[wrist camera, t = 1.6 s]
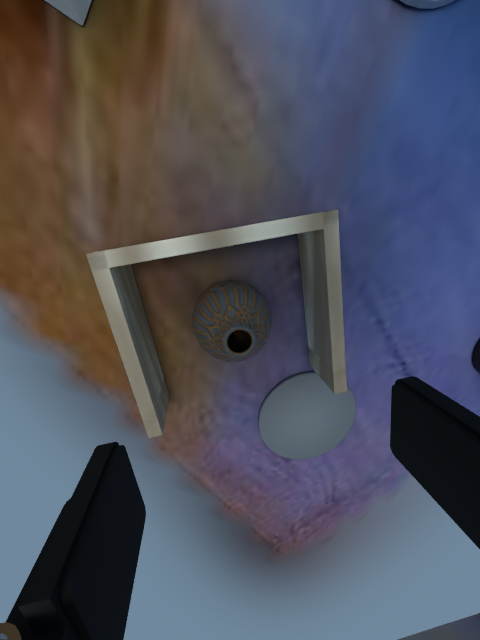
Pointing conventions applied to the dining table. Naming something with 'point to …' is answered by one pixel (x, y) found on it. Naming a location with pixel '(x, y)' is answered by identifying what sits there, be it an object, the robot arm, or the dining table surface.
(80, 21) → the milk carton
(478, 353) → the bottle
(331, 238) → the holder
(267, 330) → the vase
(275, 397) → the mat
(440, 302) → the dining table surface
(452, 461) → the robot arm
